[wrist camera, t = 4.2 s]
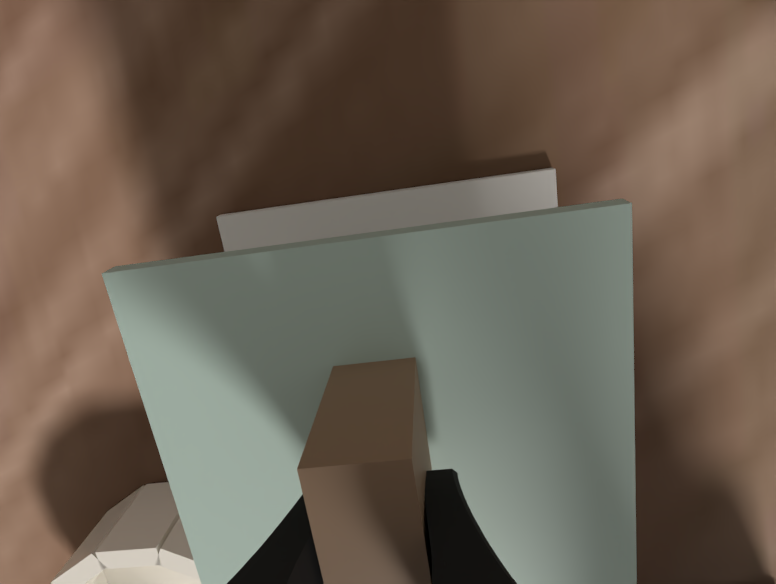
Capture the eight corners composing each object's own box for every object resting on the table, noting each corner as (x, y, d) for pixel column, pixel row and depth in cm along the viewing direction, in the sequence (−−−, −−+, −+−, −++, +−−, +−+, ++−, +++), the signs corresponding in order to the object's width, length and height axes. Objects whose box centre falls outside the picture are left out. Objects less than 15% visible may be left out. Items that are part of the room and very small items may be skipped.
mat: (552, 167, 19) (555, 169, 19) (569, 463, 23) (572, 470, 22) (220, 214, 20) (216, 217, 20) (286, 487, 24) (283, 495, 24)
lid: (622, 198, 12) (730, 249, 8) (629, 612, 16) (706, 802, 12) (115, 266, 14) (-33, 342, 9) (230, 635, 17) (164, 814, 13)
